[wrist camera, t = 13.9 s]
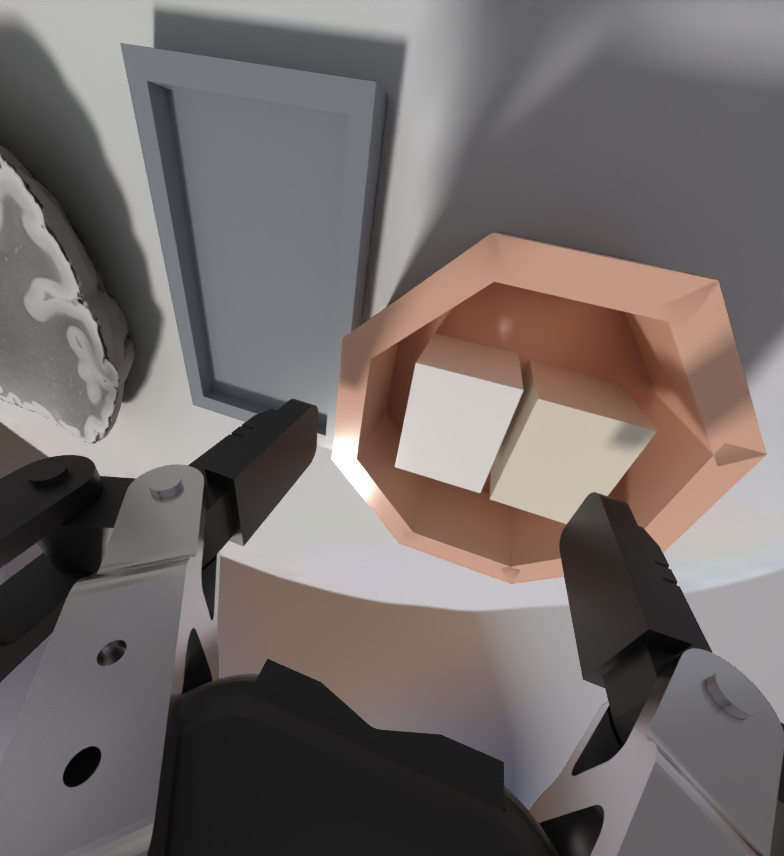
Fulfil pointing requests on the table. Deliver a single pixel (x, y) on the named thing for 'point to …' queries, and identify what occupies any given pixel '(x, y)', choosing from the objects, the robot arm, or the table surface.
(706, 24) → the table surface
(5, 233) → the brain slice
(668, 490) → the bowl
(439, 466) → the stone
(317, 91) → the tray
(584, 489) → the stone
